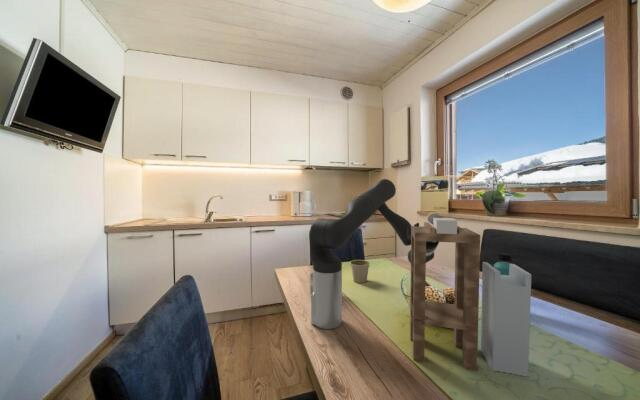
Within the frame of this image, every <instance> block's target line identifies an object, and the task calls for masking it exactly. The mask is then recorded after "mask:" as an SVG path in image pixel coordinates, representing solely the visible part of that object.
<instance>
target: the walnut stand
mask: <svg viewBox="0 0 640 400" xmlns="http://www.w3.org/2000/svg"><path fill="white" fill-rule="evenodd" d="M426 241H433V242H439V243H455V246H454V247H455V250H454V253H455V254H454V255H455V256H454V258H455V259H454V302H453V303H447V302H444V303H443V302H437V301H436V302H434V301H429V300H428V301H427V300H426V278H427V277H426V274H427V273H426V272H427V271H426V269H427V268H426V266H427V263H426ZM410 250H411V263H410V291H409V292H410V294H409V295H410V301H409V302H410V309H409V317H410V318H409V337H410V341H412V358H413V361H415V362H416V361H417V362H422V363H425V348H426V347H425V345H426V344H425V341H426V339H425V337H426V332H425V331H426V326H432V327H439V328H447V329H448V328H449V329H453V344H454V343H455V344H454V346H455V347H456V348H460V349H462V351H461V352H462V359H461V361H462V362H461V363H462V365H463V364H464V365H463V368H464V369H465V368H466V369H465V370H469V369H472V370H471V371H474V370H476V372H477V371H478V357H479V355H478V352H479V351H478V350H479V349H478V348H479V347H478V346H479V345H478V344H479V312H480V310H479V309H480V308H479V305H480V302H479V301H480V272H481V271H480V266H481V265H480V264H481V263H480V261H481V235H480V234H479V233H477V232H475V231H473V230H471V229H469V228H467V227H460V226H459V225H457V234H440V233H436V232H435V228H434V227H433V225H432V224H431V223H430V222H429V221H427V222H423V226H420V225H419V226H414V225H411V245H410Z"/></svg>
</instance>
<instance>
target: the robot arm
mask: <svg viewBox="0 0 640 400" xmlns="http://www.w3.org/2000/svg"><path fill="white" fill-rule="evenodd" d="M396 189H397V188H396V185H395V184H394V182H393V181H392V180H390V179H388V178H383V179H380V180H378V181H376V183H374V184H373V185H371V186H370V187H368V189H367V190H366V191H364V192H363V193H361V194H359V195H358V196H356V197H355V198H353V199H352V200H351V201H349V202H348V203H347V204H346V207H345V215H344V216H342V217H341V218H338V219H335V218H334V219H333V218H323V217H322V218H320V217H319V218H316V219H315V220H313V221H312V222H311V226H310V229H309V249H310V250H309V251H310V252H309V253H310V261H311V263H312V273H313V293H312V294H311V293H310V295H311V296H310V315H311V317H310V320H311V322H310V323H311V325H314V326H315V327H317V328H319V329H324V330H332V329H336V328H338V327H340V326H341V325H342V322H343V314H342V313H343V278H342V277H343V274H342V273H343V267H342V265H343V263H342V260H341V259H340V258H339V257H338V256H336V255H335V254H334V253H333V252H332V251H331V250H338V249H341V248H342V247H344V245H346V243H348V241H349V240H350V238H351V237H352V236H353V235H354V233H355V232H356V231H357V230H358V229H359V228H360V227H361V226H362V225H363V224H364V223H366V221H368V220H369V219H370V218H371V217H372V216H373V215H374V214H375V213H376V212H377V211H378V212H379V213H380V215H382V217H384V219H385V220H386V221H387V222H388V223H389V224H390V226H391V227H392V229H393V230H394V231H395V233H396V235H397V236H398V237H399V239H400V240H401V242H402V244H403V246H406V247H408V246H411V226H412V224H411V223H410V222H409V221H408V220H407V218H405V217H403V216H401V215H400V214H398V213H396V212H394V211H393V210H392V209H390V207H388V205H387V204H386V202H387V201H389V200H391V199H392V198H394V197H395V195H396V193H397V192H396ZM413 226H420V222H416V223H415V224H414V225H413ZM439 243H440V242H433V241H426V264H427V263H428V262H430V261H432V260H434V257H435V251H436V250H437V248H438V245H439ZM407 260H408V262H409V263H410V264H411V249H410V250H409V251H408V252H407Z"/></svg>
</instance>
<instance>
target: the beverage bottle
mask: <svg viewBox="0 0 640 400" xmlns="http://www.w3.org/2000/svg"><path fill="white" fill-rule="evenodd" d="M512 258H513V257H512V254H510V253H505V252H498V253H497V260H499V261H497V262H495V263H494V264H493V267H494V268H495V269H497V270H498V271H499V272H500V275H509V264H512V263H510V262H512V261H513V259H512Z"/></svg>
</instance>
